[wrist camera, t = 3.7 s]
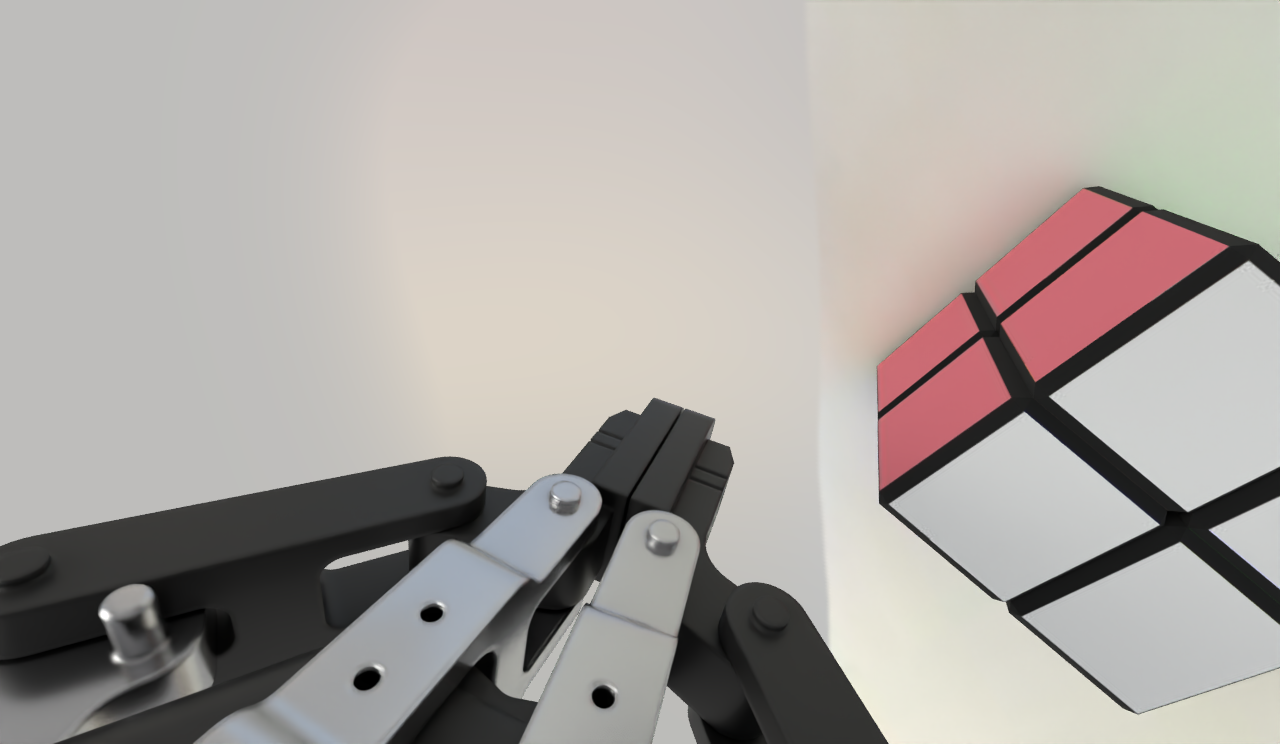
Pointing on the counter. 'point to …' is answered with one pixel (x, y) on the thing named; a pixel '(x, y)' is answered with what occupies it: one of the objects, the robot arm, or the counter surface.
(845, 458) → the counter surface
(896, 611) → the counter surface
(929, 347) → the puzzle cube
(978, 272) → the counter surface
